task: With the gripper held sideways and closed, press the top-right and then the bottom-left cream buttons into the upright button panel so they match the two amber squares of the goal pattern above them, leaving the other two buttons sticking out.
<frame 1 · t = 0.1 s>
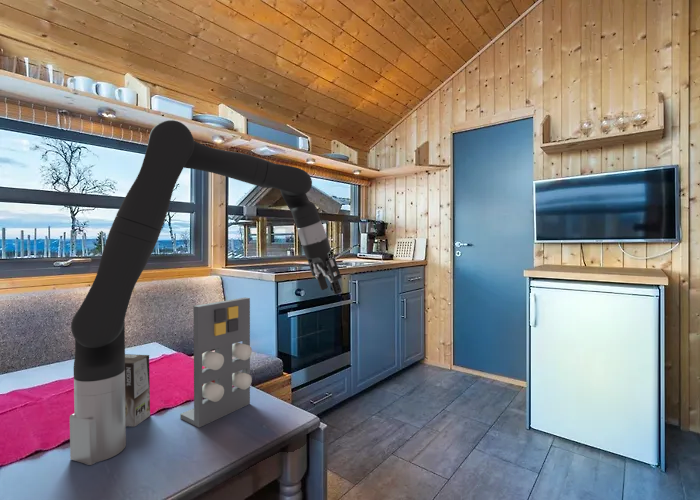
hand: (331, 291, 109), 31 cm above the table, tool tilted 20°, fingers open, 8 cm apart
button bottom right: (241, 380, 101), point 8 cm above the table, slide at 0.0 cm
button top left: (212, 360, 93), point 16 cm above the table, slide at 0.0 cm
button bottom left: (212, 391, 94), point 8 cm above the table, slide at 0.0 cm
button panel: (226, 414, 98), on the table
coffee box: (126, 420, 95), on the table
onion: (206, 392, 112), on the table
button top right: (241, 351, 101), point 16 cm above the table, slide at 0.0 cm
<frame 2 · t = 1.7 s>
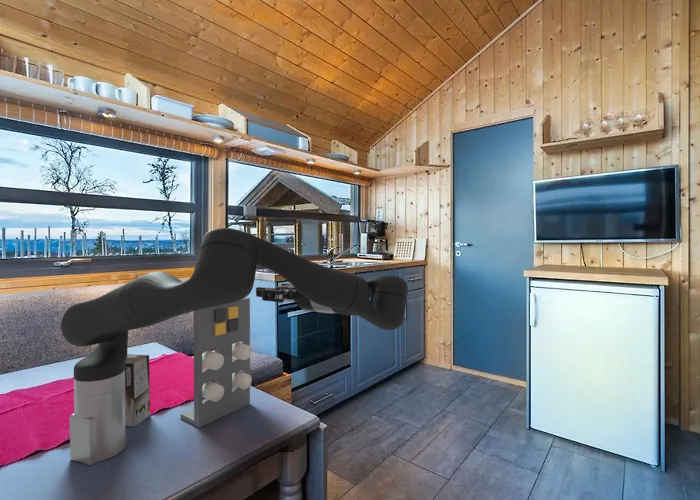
hand: (269, 289, 91), 34 cm above the table, tool horizontal, fingers open, 8 cm apart
nothing on the table moved.
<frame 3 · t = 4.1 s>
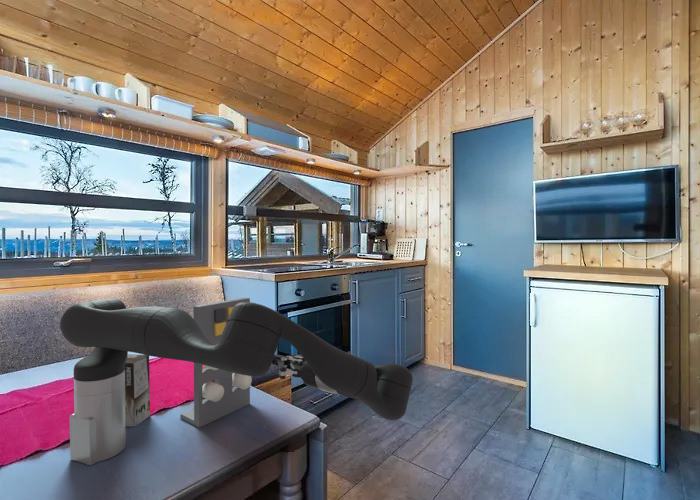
hand: (273, 358, 94), 16 cm above the table, tool horizontal, fingers closed
nothing on the table moved.
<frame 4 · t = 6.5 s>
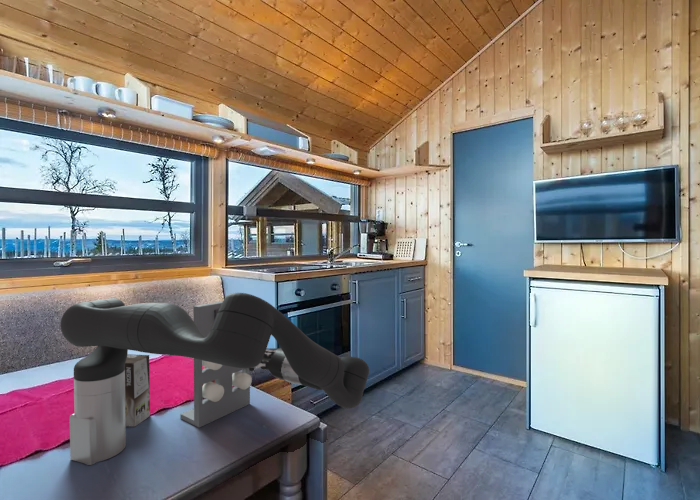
hand: (245, 352, 100), 16 cm above the table, tool horizontal, fingers closed
button top right: (240, 351, 101), point 16 cm above the table, slide at 0.0 cm, touching gripper
everything else where it was.
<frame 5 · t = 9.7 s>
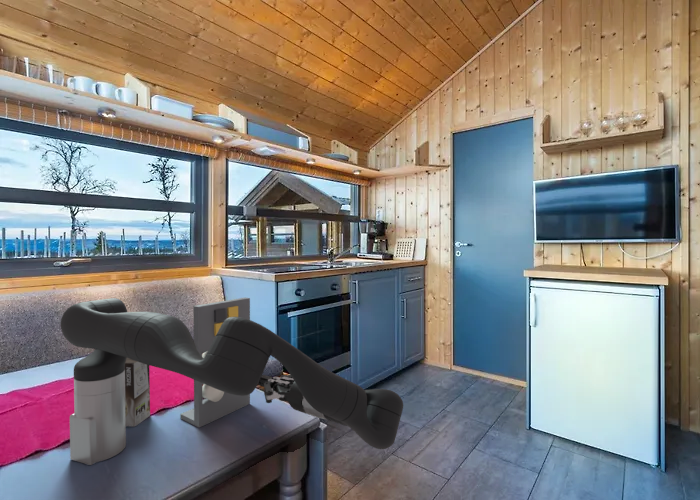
hand: (260, 379, 91), 12 cm above the table, tool horizontal, fingers closed
button top right: (237, 350, 102), point 16 cm above the table, slide at 1.6 cm
everything else where it was.
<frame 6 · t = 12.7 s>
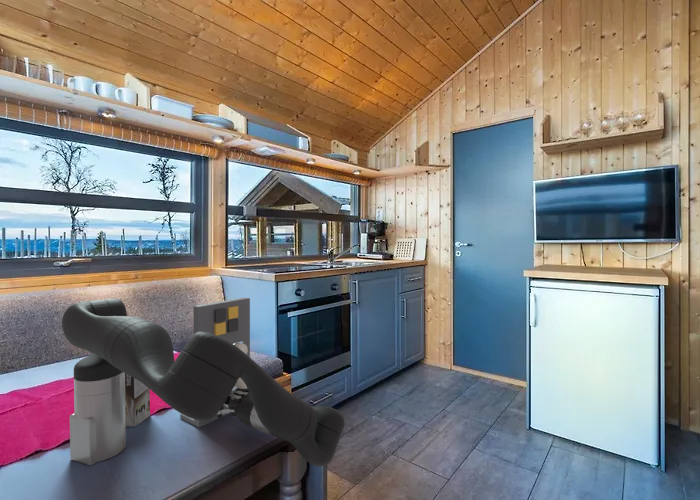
hand: (216, 393, 93), 8 cm above the table, tool horizontal, fingers closed
button bottom left: (211, 391, 94), point 8 cm above the table, slide at 0.4 cm, touching gripper
everything else where it was.
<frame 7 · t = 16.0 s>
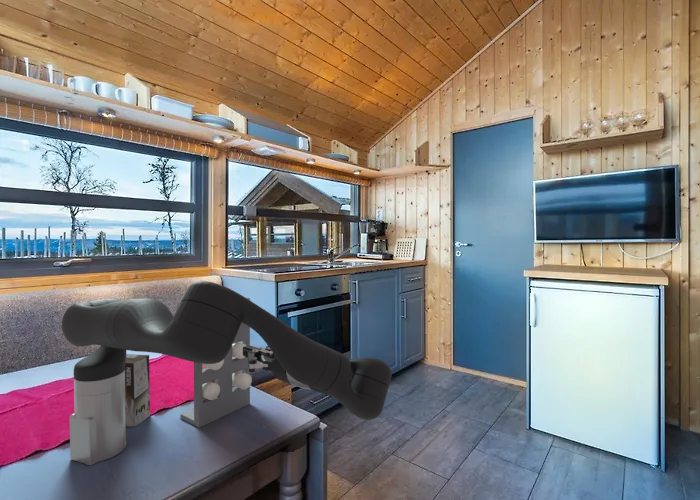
hand: (245, 350, 87), 21 cm above the table, tool horizontal, fingers closed
button bottom left: (208, 389, 95), point 8 cm above the table, slide at 1.7 cm
everything else where it was.
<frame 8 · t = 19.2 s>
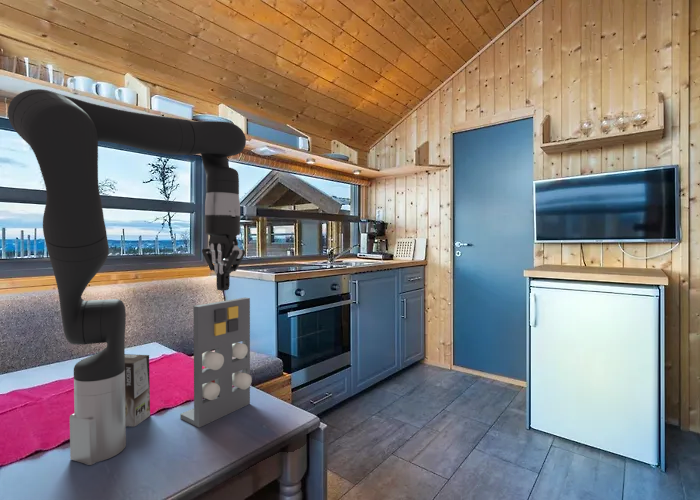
hand: (223, 290, 85), 35 cm above the table, tool pointing down, fingers closed
nothing on the table moved.
at the end: button top right slide at 1.6 cm; button bottom left slide at 1.7 cm; button top left slide at 0.0 cm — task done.
